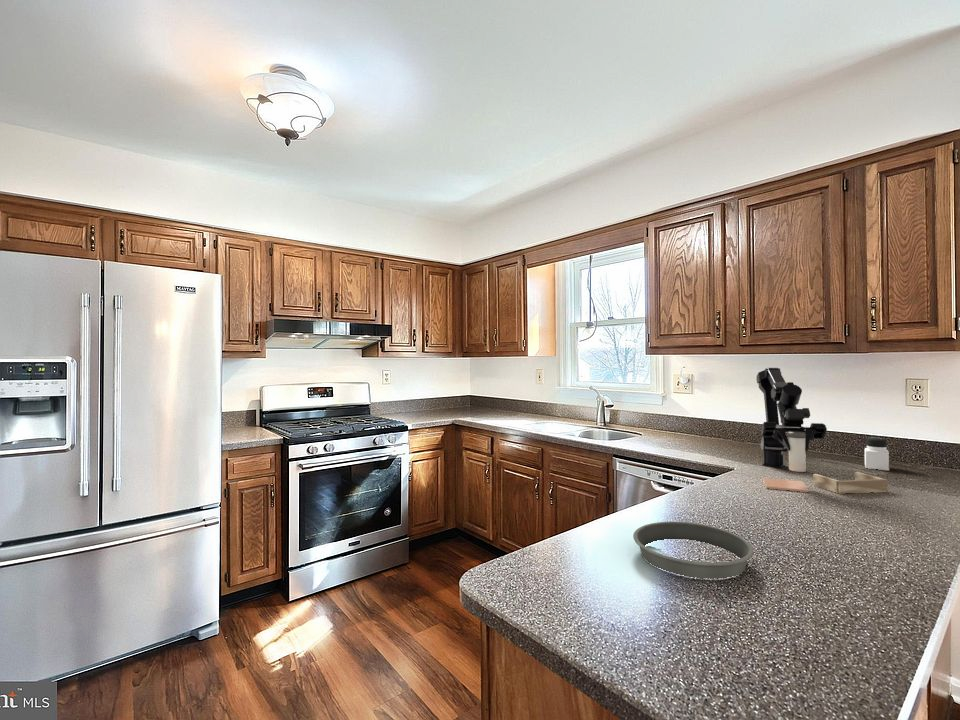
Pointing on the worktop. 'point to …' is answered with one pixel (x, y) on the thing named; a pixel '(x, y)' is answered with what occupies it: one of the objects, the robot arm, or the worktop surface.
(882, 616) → the worktop surface
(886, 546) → the worktop surface
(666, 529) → the grey thin ring
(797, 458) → the cream spice jar
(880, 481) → the birch stall
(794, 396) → the robot arm
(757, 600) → the worktop surface
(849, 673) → the worktop surface
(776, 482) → the terracotta tile
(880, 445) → the medicine bottle
